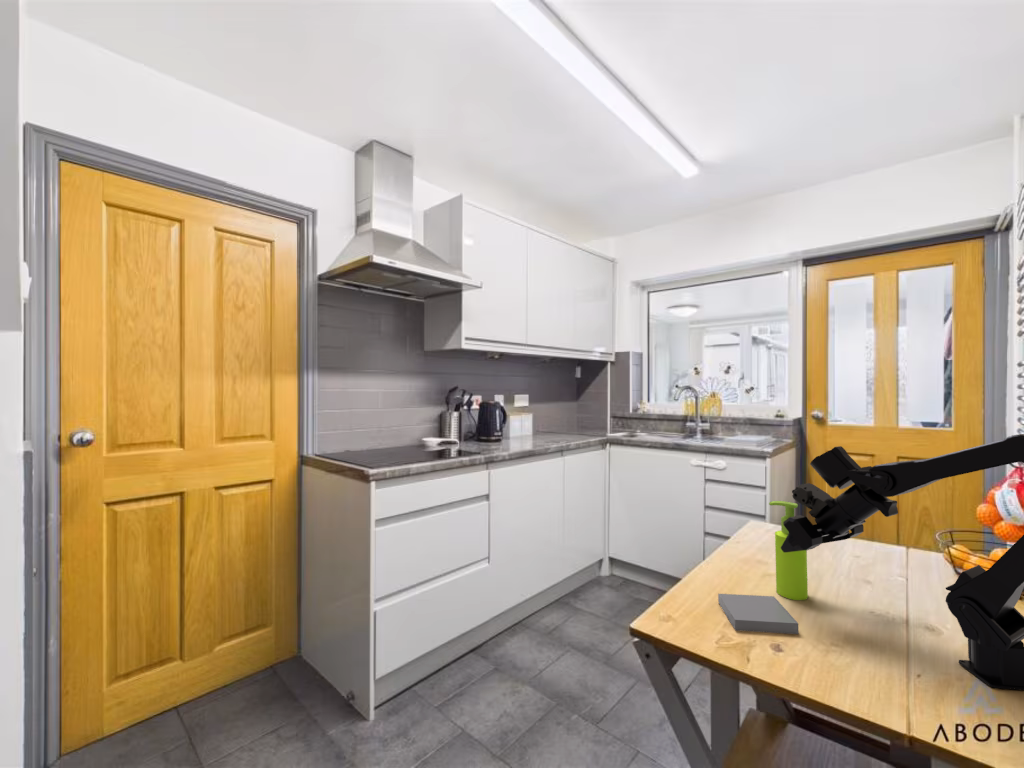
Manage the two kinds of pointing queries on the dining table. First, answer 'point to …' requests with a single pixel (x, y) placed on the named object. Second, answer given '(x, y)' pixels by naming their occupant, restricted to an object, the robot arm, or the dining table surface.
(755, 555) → the dining table surface
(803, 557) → the soap dispenser
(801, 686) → the dining table surface
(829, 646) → the dining table surface
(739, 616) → the slate stand
